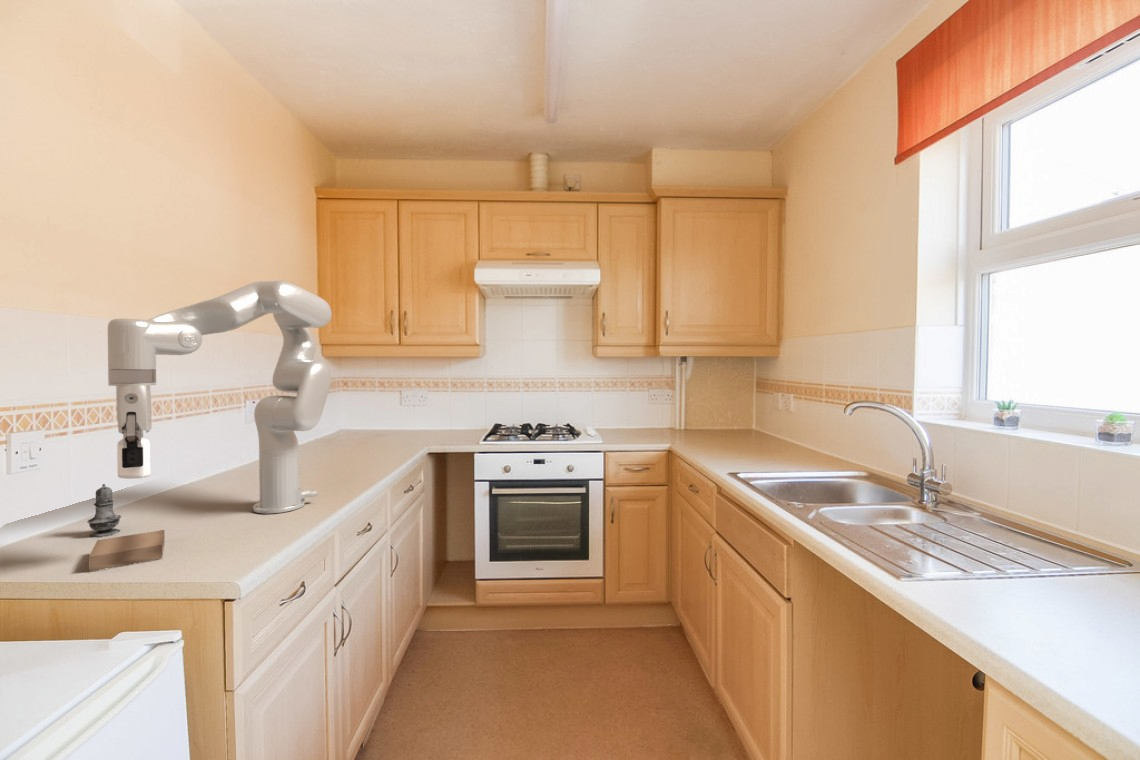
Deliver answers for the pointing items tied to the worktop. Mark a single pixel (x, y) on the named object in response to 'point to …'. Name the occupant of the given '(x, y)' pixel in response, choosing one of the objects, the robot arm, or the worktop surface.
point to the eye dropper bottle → (134, 471)
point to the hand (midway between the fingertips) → (133, 463)
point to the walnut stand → (127, 550)
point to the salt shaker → (104, 514)
